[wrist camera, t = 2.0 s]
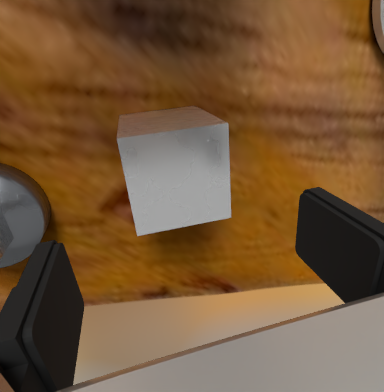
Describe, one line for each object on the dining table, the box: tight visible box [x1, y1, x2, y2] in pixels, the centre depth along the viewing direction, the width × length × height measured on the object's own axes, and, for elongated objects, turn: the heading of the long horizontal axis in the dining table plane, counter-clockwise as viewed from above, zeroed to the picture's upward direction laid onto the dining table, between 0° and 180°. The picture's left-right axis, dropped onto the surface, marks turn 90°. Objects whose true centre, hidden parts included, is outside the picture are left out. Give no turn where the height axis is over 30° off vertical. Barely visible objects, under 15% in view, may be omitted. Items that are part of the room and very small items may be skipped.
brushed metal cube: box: [117, 106, 231, 236], centre depth 19 cm, size 6×6×8 cm
